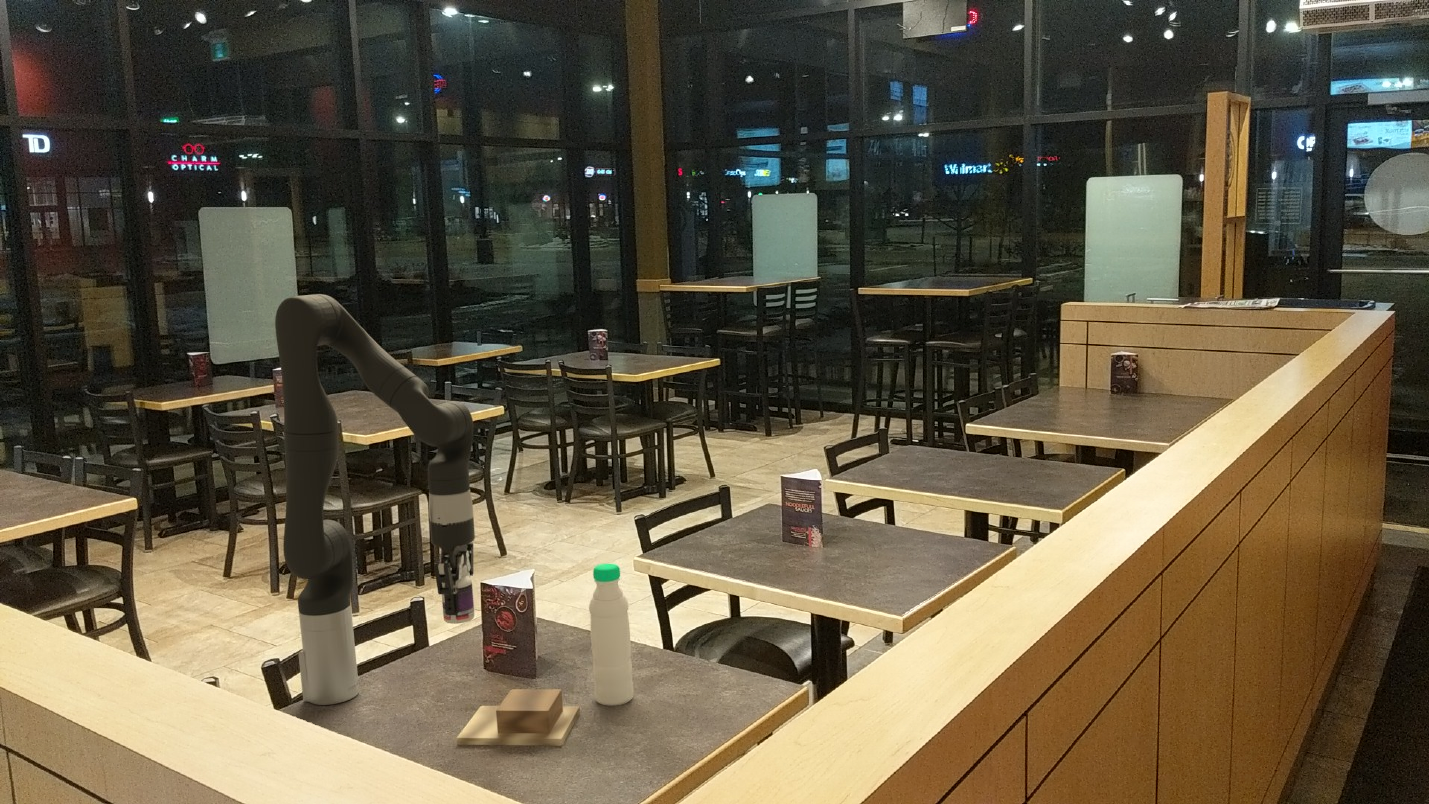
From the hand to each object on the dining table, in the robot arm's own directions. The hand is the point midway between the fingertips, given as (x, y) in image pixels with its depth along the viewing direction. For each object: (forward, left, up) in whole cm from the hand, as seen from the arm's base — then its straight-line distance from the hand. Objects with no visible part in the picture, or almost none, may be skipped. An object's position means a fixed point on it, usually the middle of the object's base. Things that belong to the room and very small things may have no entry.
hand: (458, 608), depth 205 cm
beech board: (+12, -8, -19) cm, 24 cm away
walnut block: (+14, -8, -18) cm, 24 cm away
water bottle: (+26, +5, -19) cm, 33 cm away
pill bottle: (0, 0, -2) cm, 2 cm away
